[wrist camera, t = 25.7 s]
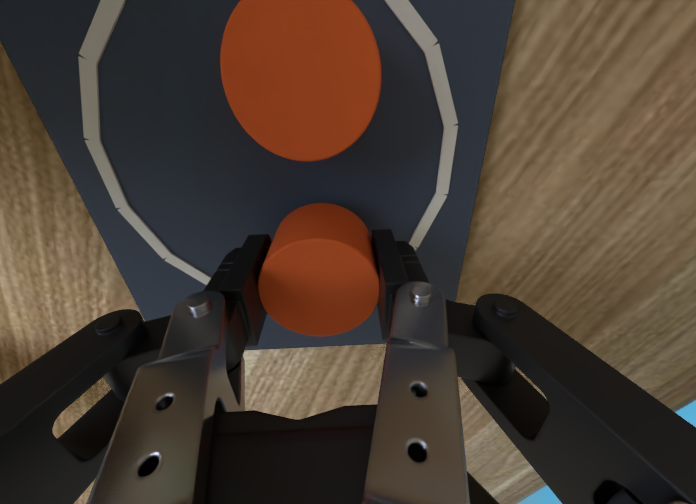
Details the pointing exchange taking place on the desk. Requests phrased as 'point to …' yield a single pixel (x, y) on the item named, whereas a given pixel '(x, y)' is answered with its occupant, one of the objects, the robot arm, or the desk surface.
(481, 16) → the dark mat with ring
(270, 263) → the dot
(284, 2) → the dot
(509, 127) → the desk surface
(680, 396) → the desk surface
